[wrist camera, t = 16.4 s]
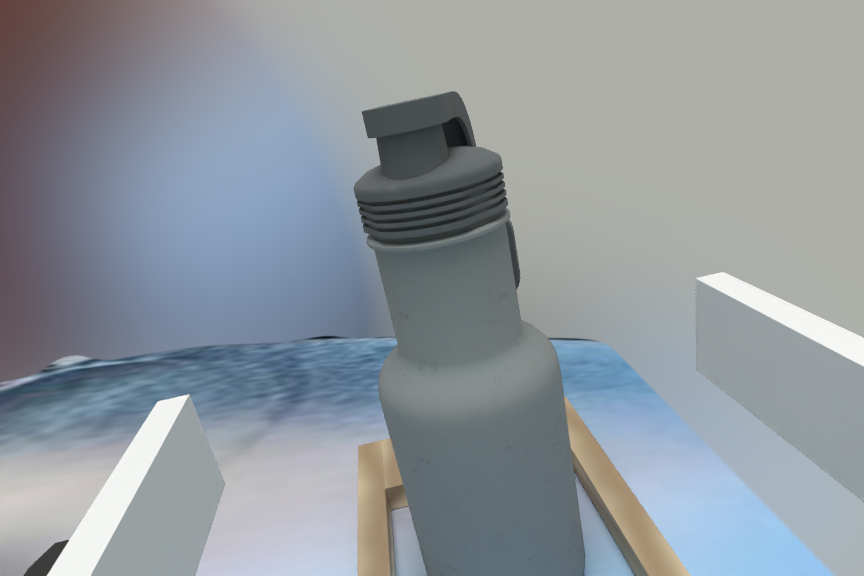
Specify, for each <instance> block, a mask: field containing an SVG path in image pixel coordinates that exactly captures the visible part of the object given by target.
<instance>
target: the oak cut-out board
mask: <svg viewBox="0 0 864 576" xmlns="http://www.w3.org/2000/svg"><path fill="white" fill-rule="evenodd" d="M564 400H565V408H566V415H567V423H568V430H569V438H570V445H571V453H572V461H573V468H574V471H575V473H576V474H577V476H578V478H579V480H580V481H581V483H582V485H583V487H584V488H585V490H586V492H587V493H588V495H589V497H590V499H591V500H592V502H593V504H594V505H595V507H596V509H597V511H598V512H599V514H600V516H601V518H602V519H603V521H604V523H605V524H606V526H607V528H608V530H609V531H610V533H611V535H612V536H613V538H614V540H615V542H616V543H617V545H618V547H619V549H620V550H621V552H622V554H623V555H624V557H625V559H626V561H627V562H628V564H629V566H630V567H631V569H632V571H633V573H634V574H635V576H690V574H689V573H688V571H687V570H686V568H685V567H684V565H683V564H682V563H681V561H680V560H679V558H678V557H677V555H676V554H675V553H674V551H673V550H672V548H671V547H670V545H669V544H668V543H667V541H666V540H665V538H664V537H663V535H662V534H661V532H660V531H659V530H658V528H657V527H656V525H655V524H654V522H653V521H652V520H651V518H650V517H649V515H648V514H647V512H646V511H645V510H644V508H643V507H642V505H641V504H640V502H639V501H638V500H637V498H636V497H635V495H634V494H633V492H632V491H631V489H630V488H629V487H628V485H627V484H626V482H625V481H624V479H623V478H622V477H621V475H620V474H619V472H618V471H617V469H616V468H615V467H614V465H613V464H612V462H611V461H610V459H609V458H608V457H607V455H606V454H605V452H604V451H603V449H602V448H601V446H600V445H599V444H598V442H597V441H596V439H595V438H594V436H593V435H592V434H591V432H590V431H589V429H588V428H587V426H586V425H585V424H584V422H583V421H582V419H581V418H580V416H579V415H578V414H577V412H576V411H575V409H574V408H573V406H572V405H571V403H570V402H569V401H568V399H567V398H566V396H564ZM405 506H409V505H408V501H407V498H406V494H405V490H404V487H403V483H402V479H401V476H400V472H399V468H398V464H397V461H396V457H395V453H394V450H393V446H392V442H391V439H385V440H381V441H377V442H373V443H369V444H365V445H361V446H358V576H396V573H395V559H394V546H393V532H392V519H391V510H393V509H397V508H401V507H405Z"/></svg>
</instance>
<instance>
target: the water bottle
mask: <svg viewBox="0 0 864 576" xmlns="http://www.w3.org/2000/svg"><path fill="white" fill-rule="evenodd" d="M362 115H363V119H364V123H365V128H366V132H367V136H368V138H376V139H377V145H378V151H379V157H380V163H381V165H379V166H377V167H375V168H373V169H371V170H369V171H367V172H366V173H365V174H364V175H363V176H362V177H361V178H360V179H359V180H358V181H357V182H356V183H355V186H354V192H355V197H356V199H357V200H358V201H357V205H358V207H360V209H359V213H360V215H362V216H361V220H362V223H364V224H363V228H364V232H365V233H368V234H369V236H368V237H367V244H368V246H369V247H370V248H372V249H374V250H375V254H376V258H377V262H378V267H379V271H380V275H381V279H382V283H383V286H384V290H385V295H386V298H387V303H388V307H389V311H390V314H391V319H392V323H393V327H394V331H395V335H396V339H397V343H398V345H397V346H396V347H395V348H394V349H393V350H392V351H391V353H390V354H389V355H388V357H387V358H386V360H385V362H384V364H383V367H382V369H381V372H380V375H379V397H380V402H381V406H382V409H383V413H384V417H385V420H386V424H387V428H388V431H389V435H390V439H391V442H392V446H393V450H394V453H395V457H396V461H397V464H398V468H399V472H400V476H401V479H402V483H403V487H404V490H405V494H406V498H407V501H408V505H409V509H410V512H411V516H412V520H413V523H414V527H415V531H416V534H417V538H418V542H419V545H420V549H421V553H422V556H423V560H424V564H425V567H426V571H427V575H428V576H582V575H583V572H584V564H585V551H584V543H583V536H582V528H581V521H580V513H579V506H578V498H577V491H576V483H575V476H574V468H573V461H572V453H571V445H570V438H569V430H568V423H567V415H566V408H565V400H564V393H563V385H562V378H561V371H560V366H559V361H558V357H557V353H556V350H555V348H554V346H553V345H552V343H551V342H550V340H549V339H548V338H547V337H546V336H545V335H544V334H543V333H542V332H540V331H539V330H538V329H537V328H535V327H534V326H533V325H531V324H529V323H527V322H525V321H522V320H521V317H520V311H519V305H518V299H517V292H516V289H517V287H518V286H519V282H520V270H519V263H518V256H517V250H516V243H515V236H514V230H513V226H512V223H511V222H510V220H509V218H510V212H509V209H507V208H506V206H507V205H508V201H507V198H506V197H505V195H506V190H505V189H503V188H504V187H505V182H504V181H502V179H503V178H504V176H503V173H501V172H500V171H501V170H502V169H503V167H502V160H501V157H500V156H499V154H497V153H495V152H492V151H490V150H487V149H485V148H481V147H476V143H475V139H474V134H473V130H472V127H471V123H470V120H469V116H468V113H467V111H466V108H465V105H464V103H463V101H462V98H461V97H460V96H459V94H458V93H457V92H455V91H454V92H448V93H443V94H438V95H433V96H429V97H424V98H419V99H414V100H410V101H405V102H400V103H395V104H391V105H386V106H381V107H377V108H374V109H370V110H365V111H362Z"/></svg>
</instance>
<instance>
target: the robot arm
mask: <svg viewBox="0 0 864 576" xmlns="http://www.w3.org/2000/svg"><path fill="white" fill-rule="evenodd" d="M696 370H697V371H698V372H700V373H701V374H702V375H703V376H705V377H706V378H707V379H708V380H710V381H711V382H712V383H714V384H715V385H716V386H717V387H719V388H720V389H721V390H722V391H724V392H725V393H726V394H727V395H729V396H730V397H731V398H733V399H734V400H735V401H736V402H738V403H739V404H740V405H741V406H743V407H744V408H745V409H746V410H748V411H749V412H750V413H752V414H753V415H754V416H755V417H757V418H758V419H759V420H760V421H762V422H763V423H764V424H765V425H767V426H768V427H769V428H771V429H772V430H773V431H774V432H776V433H777V434H778V435H779V436H781V437H782V438H783V439H784V440H786V441H787V442H788V443H789V444H791V445H792V446H793V447H795V448H796V449H797V450H798V451H800V452H801V453H802V454H804V455H805V456H806V457H807V458H808V459H810V460H811V461H812V462H814V463H815V464H816V465H817V466H819V467H820V468H821V469H822V470H824V471H825V472H826V473H828V474H829V475H830V476H831V477H833V478H834V479H835V480H836V481H838V482H839V483H840V484H841V485H843V486H844V487H845V488H847V489H848V490H849V491H850V492H851V493H853V494H854V495H855V496H857V497H858V498H859V499H860V500H862V501H863V502H864V338H862V337H860V336H858V335H856V334H854V333H852V332H850V331H848V330H845V329H843V328H841V327H839V326H837V325H835V324H833V323H831V322H828V321H826V320H824V319H822V318H820V317H818V316H816V315H813V314H811V313H809V312H807V311H805V310H803V309H801V308H799V307H796V306H794V305H792V304H790V303H788V302H786V301H784V300H782V299H779V298H777V297H775V296H773V295H771V294H768V293H766V292H764V291H762V290H760V289H758V288H756V287H754V286H752V285H750V284H747V283H745V282H743V281H741V280H739V279H737V278H734V277H732V276H730V275H728V274H726V273H724V272H721V273H717V274H712V275H708V276H703V277H700V278H696ZM224 486H225V482H224V480H223V477H222V475H221V472H220V470H219V467H218V465H217V462H216V460H215V457H214V455H213V452H212V450H211V447H210V445H209V442H208V440H207V437H206V435H205V432H204V430H203V427H202V425H201V422H200V420H199V417H198V415H197V412H196V410H195V407H194V405H193V402H192V400H191V397H190V395H184V396H180V397H176V398H171V399H167V400H163V401H158V402H157V403H156V405H155V407H154V408H153V410H152V411H151V413H150V414H149V416H148V418H147V419H146V421H145V422H144V424H143V425H142V427H141V429H140V430H139V432H138V433H137V435H136V436H135V438H134V440H133V441H132V443H131V444H130V446H129V447H128V449H127V451H126V452H125V454H124V455H123V457H122V458H121V460H120V462H119V463H118V465H117V466H116V468H115V469H114V471H113V473H112V474H111V476H110V477H109V479H108V480H107V482H106V484H105V485H104V487H103V488H102V490H101V491H100V493H99V495H98V496H97V498H96V499H95V501H94V502H93V504H92V506H91V507H90V509H89V510H88V512H87V513H86V515H85V516H84V518H83V520H82V521H81V523H80V524H79V526H78V527H77V529H76V531H75V532H74V534H73V535H72V537H71V538H70V540H66V541H62V542H58V543H55V544H54V545H53V546H52V547H51V548H50V549H48V550H47V551H46V552H45V553H44V554H43V555H42V556H41V557H40V558H39V559H38V560H37V561H36V562H35V563H34V564H33V565H32V566H31V567H29V568H28V570H27V571H26V573H25V574H24V576H195V574H196V571H197V568H198V565H199V562H200V559H201V556H202V553H203V550H204V547H205V544H206V541H207V538H208V534H209V531H210V528H211V525H212V522H213V519H214V516H215V513H216V510H217V507H218V504H219V501H220V498H221V495H222V492H223V489H224Z"/></svg>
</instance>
